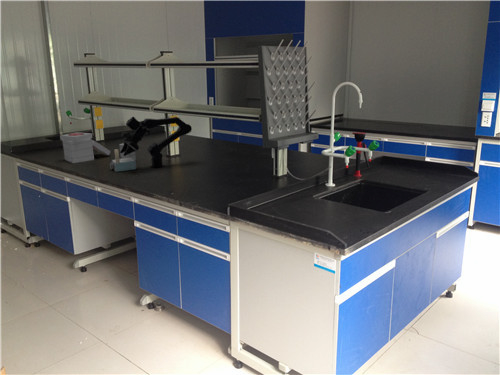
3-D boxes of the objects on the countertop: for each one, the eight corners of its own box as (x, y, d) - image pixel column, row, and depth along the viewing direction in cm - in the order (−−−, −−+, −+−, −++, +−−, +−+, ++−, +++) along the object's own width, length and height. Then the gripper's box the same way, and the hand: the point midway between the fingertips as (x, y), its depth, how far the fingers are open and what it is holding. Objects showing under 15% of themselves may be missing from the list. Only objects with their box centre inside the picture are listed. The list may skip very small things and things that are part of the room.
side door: (136, 168, 276) (134, 147, 272) (137, 169, 274) (135, 147, 270) (115, 170, 270) (113, 149, 267) (116, 171, 268) (114, 150, 264)
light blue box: (131, 165, 284) (130, 157, 283) (135, 169, 276) (134, 160, 274) (109, 168, 278) (108, 160, 276) (112, 171, 270) (111, 163, 268)
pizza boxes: (112, 157, 312) (109, 132, 307) (71, 164, 292) (67, 137, 287) (101, 153, 325) (98, 129, 320) (60, 159, 306) (57, 134, 301)
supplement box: (120, 162, 295) (118, 144, 291) (128, 160, 301) (126, 142, 297) (128, 163, 291) (127, 145, 288) (136, 161, 298) (134, 143, 294)
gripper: (125, 125, 274) (109, 143, 272) (131, 128, 258) (114, 148, 256) (138, 136, 280) (123, 154, 278) (146, 140, 264) (129, 160, 262)
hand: (122, 154), depth 269 cm, fingers open, 9 cm apart
